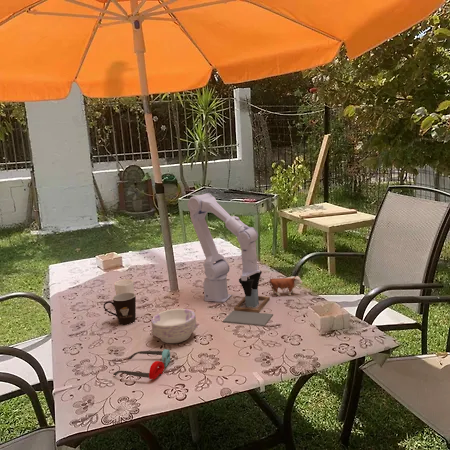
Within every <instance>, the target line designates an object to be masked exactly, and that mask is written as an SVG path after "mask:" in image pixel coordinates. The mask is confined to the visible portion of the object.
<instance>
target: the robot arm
mask: <svg viewBox="0 0 450 450" xmlns="http://www.w3.org/2000/svg"><path fill="white" fill-rule="evenodd" d="M186 206H187V208H188V211H189V214H190V215H189V216H190V220H191V223H192V225H193V228H194V231H195V234H196V235H197V239H198V241H199V244H200V246H201V249H202V251H203V254H204V256H205V259H204V261H203V267H204V274H205V278H204V280H203V283H202V284H203V287H202V288H203V293H204V294H203V295H204V298H203V301H204V302H216V303H225V302H226V301H227V300H228V299H230V298H231V297H232V294H229V292H228V280H227V279H228V278H227V277H228V273H229V272H230V265H229V262H228V261H227V260H226V258H225V257H224V255H222V254H221V253H219V252H218V248H217V246H216V244H215V241H214V238H213V235H212V234H211V231H210V227H209V226H208V223H207V221H206V216H207V214H208V213H210V212H211V213H212V214H213V215H214V216H216V217H217V218H218V219H220V220H221V221H222V222H223V223H225V228H226V229H227V230H228V231H229V232H231V233H232V234H233V235H235V237H236V239H237V242H238V243H239V246H240V247H239V248H240V250H241V265H242V270H241V275H240V277H239V278H238V282H239V284H240V285H241V287H242V290H243V292H244V296H245V295H246V296H251V294H252V289H258V290H259V282H260V278H261V275H262V271H261V270H260V267H259V266H260V265H259V264H258V259H257V258H258V255H257V245H256V244H257V242H256V241H257V240H258V238H259V233H258V230H257V229H255V227H252V226H248V224H246V223H244V222H243V221H241V219H240V217H239V216H236V215H230V213H228V212H227V211H226V210H225V208H223V207H222V206H221V204H220V203H218V202H217V199H216V197H215V196H213V195H212V194H211V193H209V192H205V193H202V194H198V195H196V196H195V195H194V196H191V197H190V198H189V199H188V201H187V204H186Z"/></svg>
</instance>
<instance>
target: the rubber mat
mask: <svg viewBox="0 0 450 450" xmlns="http://www.w3.org/2000/svg"><path fill="white" fill-rule="evenodd" d="M273 316H274V313H264V312H259V313H256V312H245V311H234V310H232V311H231V312H230V313H229V314H228V315H227V316H226V317H225V318H224V319H223V320H222V322H223V323H229V324H230V323H231V324H237V325H249V326H259V327H266V325H267V324H268V323H269V321H270V320H271V319H272V318H273Z"/></svg>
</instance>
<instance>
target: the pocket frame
mask: <svg viewBox="0 0 450 450" xmlns="http://www.w3.org/2000/svg"><path fill="white" fill-rule="evenodd" d="M258 299H259V300H260V301H262V302H261V303H259V305H258V307H256V308H255V307H243V305H244V304H246V301H245V296H244V297H243V298H242V299H241V300H240V301H239V302H238V303H237V304H236V305H235V306H234V307H233V311H245V312H256V313H261V310H262V309H264V307H265V306H266V305H267V304H268V303H269V301H270V300H271V299H270V296H263V295H262V296H261V295H258Z"/></svg>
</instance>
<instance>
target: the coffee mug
mask: <svg viewBox="0 0 450 450" xmlns="http://www.w3.org/2000/svg"><path fill="white" fill-rule="evenodd" d="M136 297H137V296H136V294H135V292H134V293H121V294H118V295H116V294H115V295H114V296H113V297H112V299H111V300H112V301H110V300H109V301H106V302H104V303H103V307H102V308H103V309H104V311H106V312H107V313H109V314H111V315H113V316H115V317H116V318H117V322H118V324H119V325H121V324H123V325H122V326H127V324H128V325H131V323H132V324H134V323H135V322H136V321H135V320H136V319H137V318H136V317H137V316H136V310H137V309H136V303H137V301H136V299H137V298H136ZM107 304H112V306H113V307H114V309H115V312H112V311H110V310H108V309H107V307H106V305H107ZM133 322H134V323H133Z"/></svg>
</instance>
